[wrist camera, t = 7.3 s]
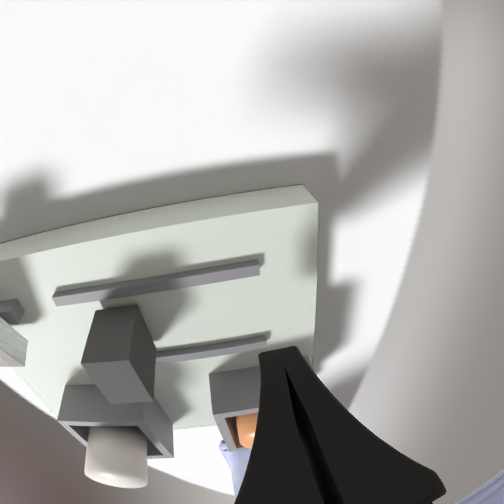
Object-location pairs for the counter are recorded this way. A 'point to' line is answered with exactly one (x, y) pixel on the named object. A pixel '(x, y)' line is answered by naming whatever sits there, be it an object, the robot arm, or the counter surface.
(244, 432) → the button orange
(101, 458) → the button white
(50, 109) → the counter surface
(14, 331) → the rocker
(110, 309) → the slider knob
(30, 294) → the panel
